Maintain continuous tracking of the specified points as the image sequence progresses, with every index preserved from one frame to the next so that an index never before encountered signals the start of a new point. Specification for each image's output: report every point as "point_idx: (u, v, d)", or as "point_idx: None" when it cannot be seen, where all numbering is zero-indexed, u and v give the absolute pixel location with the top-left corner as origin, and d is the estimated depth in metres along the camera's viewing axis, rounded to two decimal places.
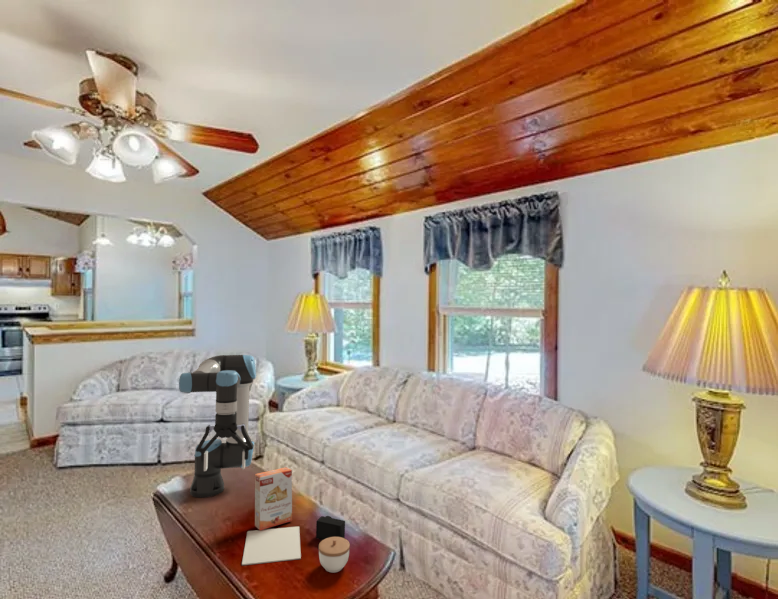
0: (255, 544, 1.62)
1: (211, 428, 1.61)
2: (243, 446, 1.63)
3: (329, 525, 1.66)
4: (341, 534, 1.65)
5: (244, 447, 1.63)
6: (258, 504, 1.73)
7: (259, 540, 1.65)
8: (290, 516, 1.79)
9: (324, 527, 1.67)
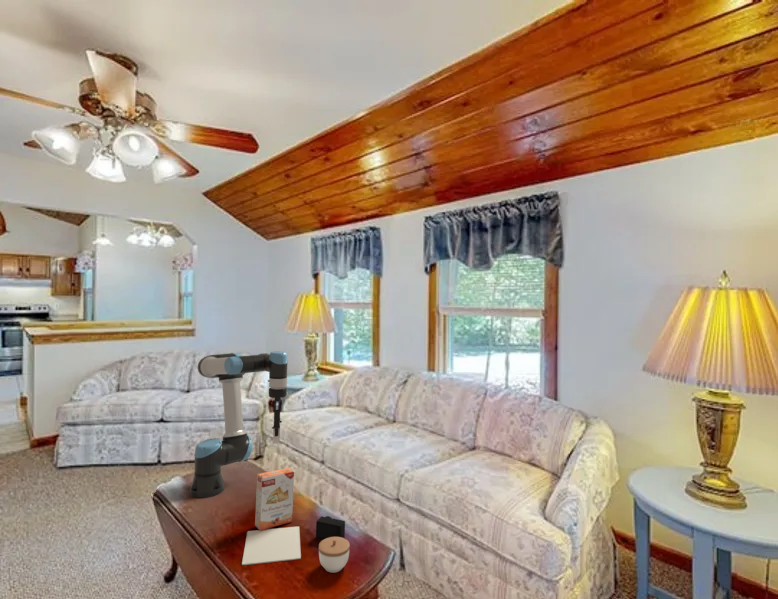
0: (255, 544, 1.62)
1: None
2: None
3: (329, 526, 1.66)
4: (341, 534, 1.65)
5: None
6: (259, 504, 1.72)
7: (259, 540, 1.65)
8: (290, 517, 1.79)
9: (324, 527, 1.66)
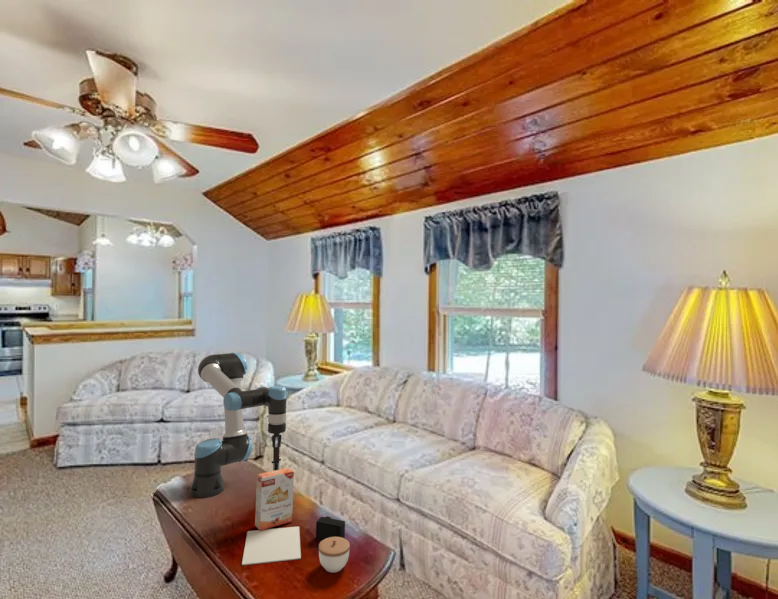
0: (255, 544, 1.62)
1: None
2: None
3: (329, 526, 1.66)
4: (341, 534, 1.65)
5: None
6: (259, 504, 1.72)
7: (259, 540, 1.65)
8: (290, 517, 1.79)
9: (324, 527, 1.66)
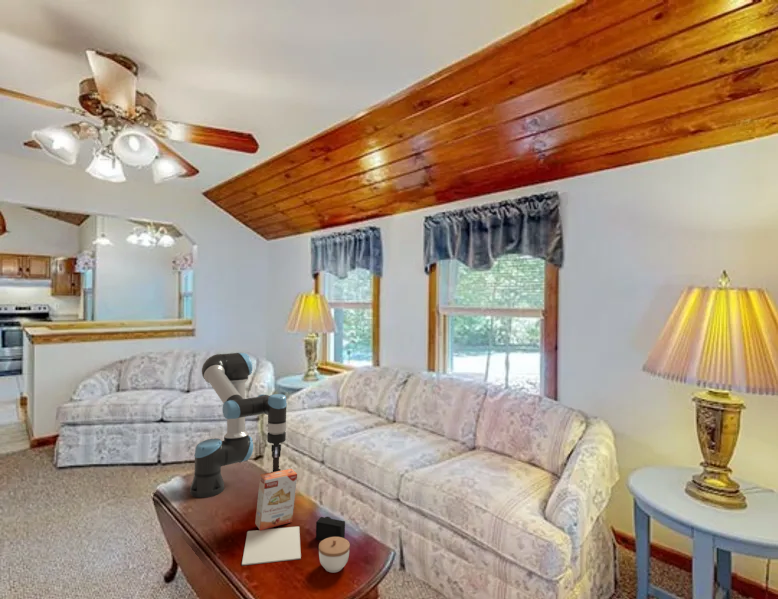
0: (255, 544, 1.62)
1: None
2: None
3: (329, 526, 1.65)
4: (341, 535, 1.65)
5: None
6: (261, 505, 1.72)
7: (259, 540, 1.65)
8: (291, 518, 1.79)
9: (324, 528, 1.66)
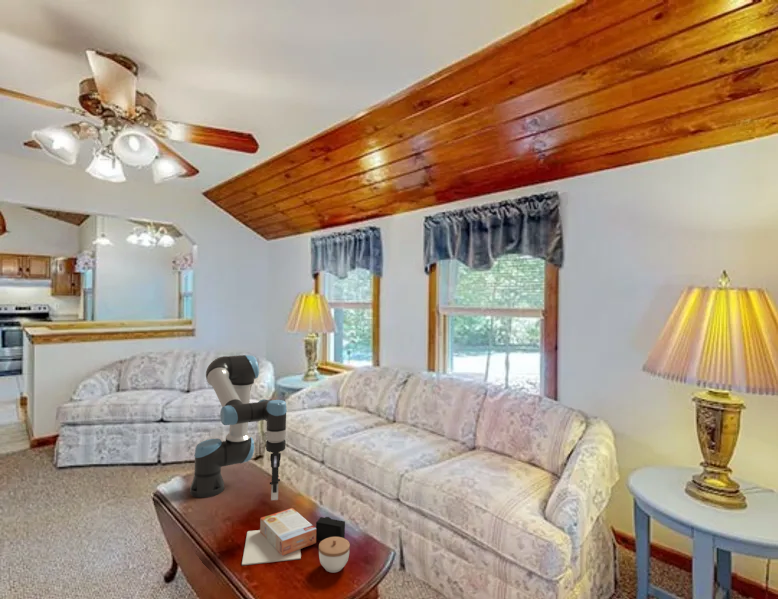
0: (255, 544, 1.62)
1: None
2: None
3: (329, 526, 1.65)
4: (341, 535, 1.65)
5: None
6: (269, 538, 1.63)
7: (259, 540, 1.65)
8: None
9: (324, 528, 1.66)
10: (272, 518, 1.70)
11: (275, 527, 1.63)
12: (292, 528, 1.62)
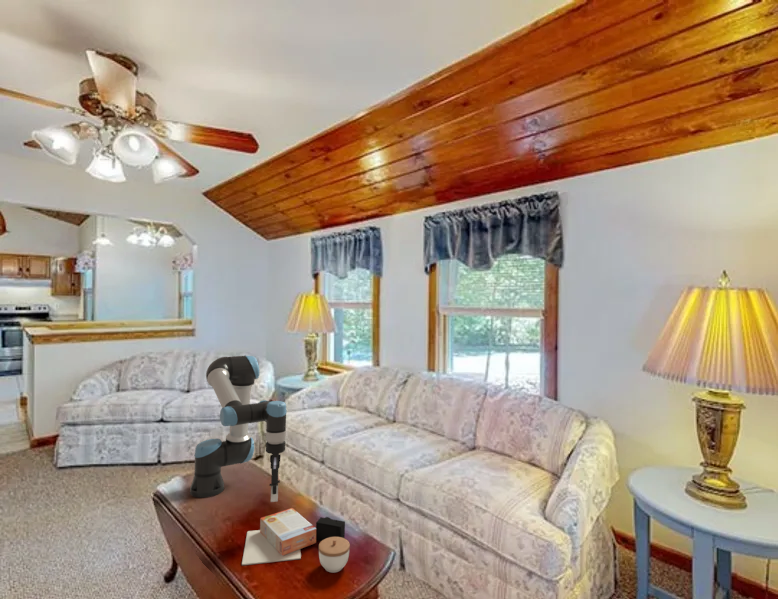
0: (255, 544, 1.62)
1: None
2: None
3: (329, 527, 1.65)
4: (341, 535, 1.65)
5: None
6: (269, 538, 1.63)
7: (259, 540, 1.65)
8: None
9: (324, 528, 1.66)
10: (272, 518, 1.70)
11: (275, 527, 1.63)
12: (292, 528, 1.62)
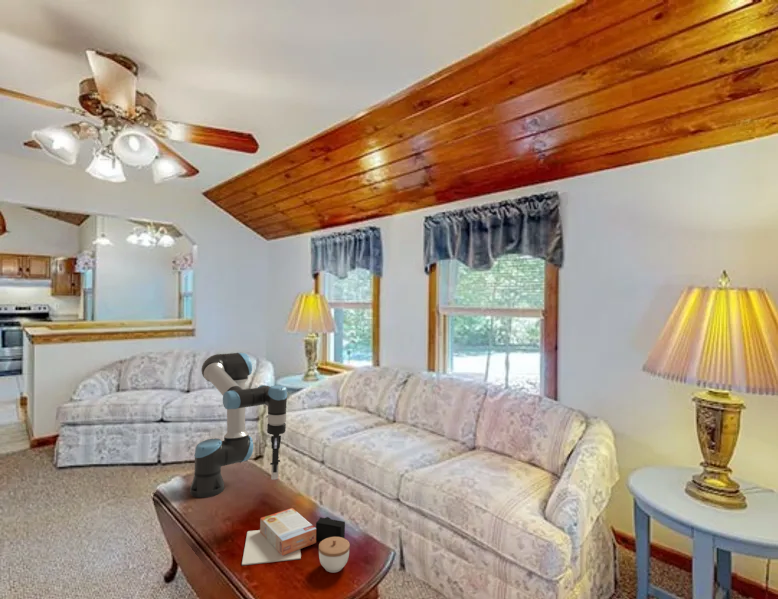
0: (255, 544, 1.62)
1: None
2: None
3: (329, 527, 1.65)
4: (341, 535, 1.64)
5: None
6: (269, 538, 1.63)
7: (259, 540, 1.65)
8: None
9: (324, 528, 1.65)
10: (272, 518, 1.70)
11: (275, 527, 1.63)
12: (292, 528, 1.62)
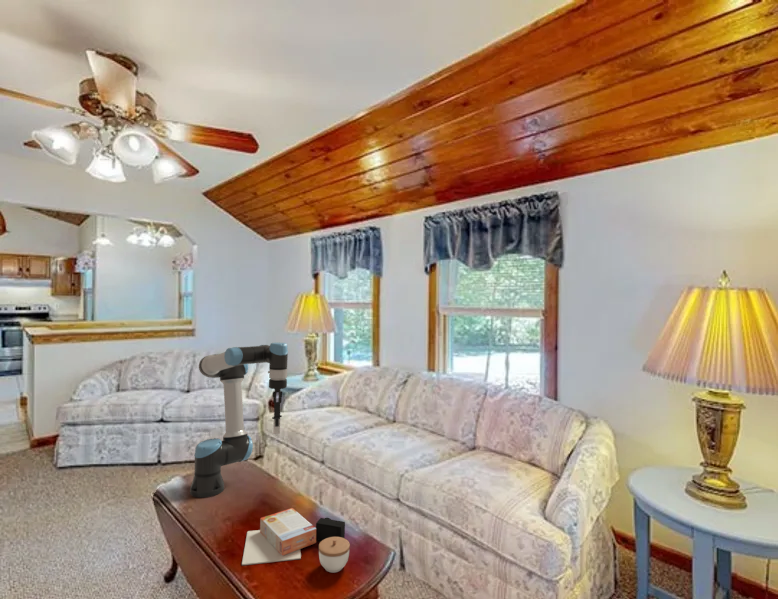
0: (255, 544, 1.62)
1: None
2: None
3: (329, 527, 1.65)
4: (341, 535, 1.64)
5: None
6: (269, 538, 1.63)
7: (259, 540, 1.65)
8: None
9: (324, 529, 1.65)
10: (272, 518, 1.70)
11: (275, 527, 1.63)
12: (292, 528, 1.62)
